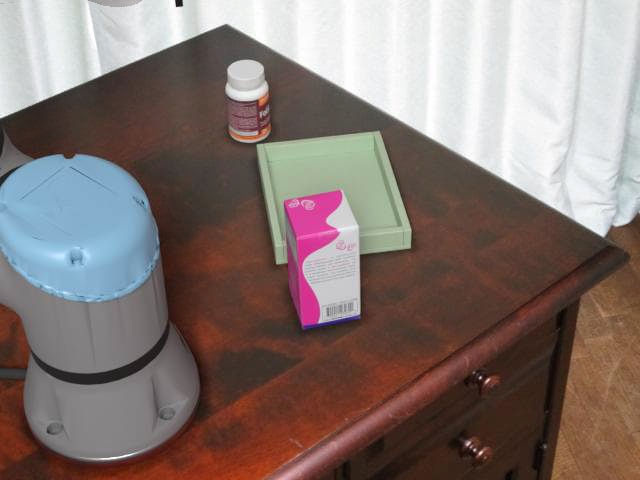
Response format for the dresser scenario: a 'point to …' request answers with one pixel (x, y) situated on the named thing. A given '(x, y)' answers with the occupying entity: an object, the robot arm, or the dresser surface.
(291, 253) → the supplement box
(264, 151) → the tray
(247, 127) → the pill bottle
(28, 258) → the robot arm
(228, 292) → the dresser surface
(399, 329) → the dresser surface
